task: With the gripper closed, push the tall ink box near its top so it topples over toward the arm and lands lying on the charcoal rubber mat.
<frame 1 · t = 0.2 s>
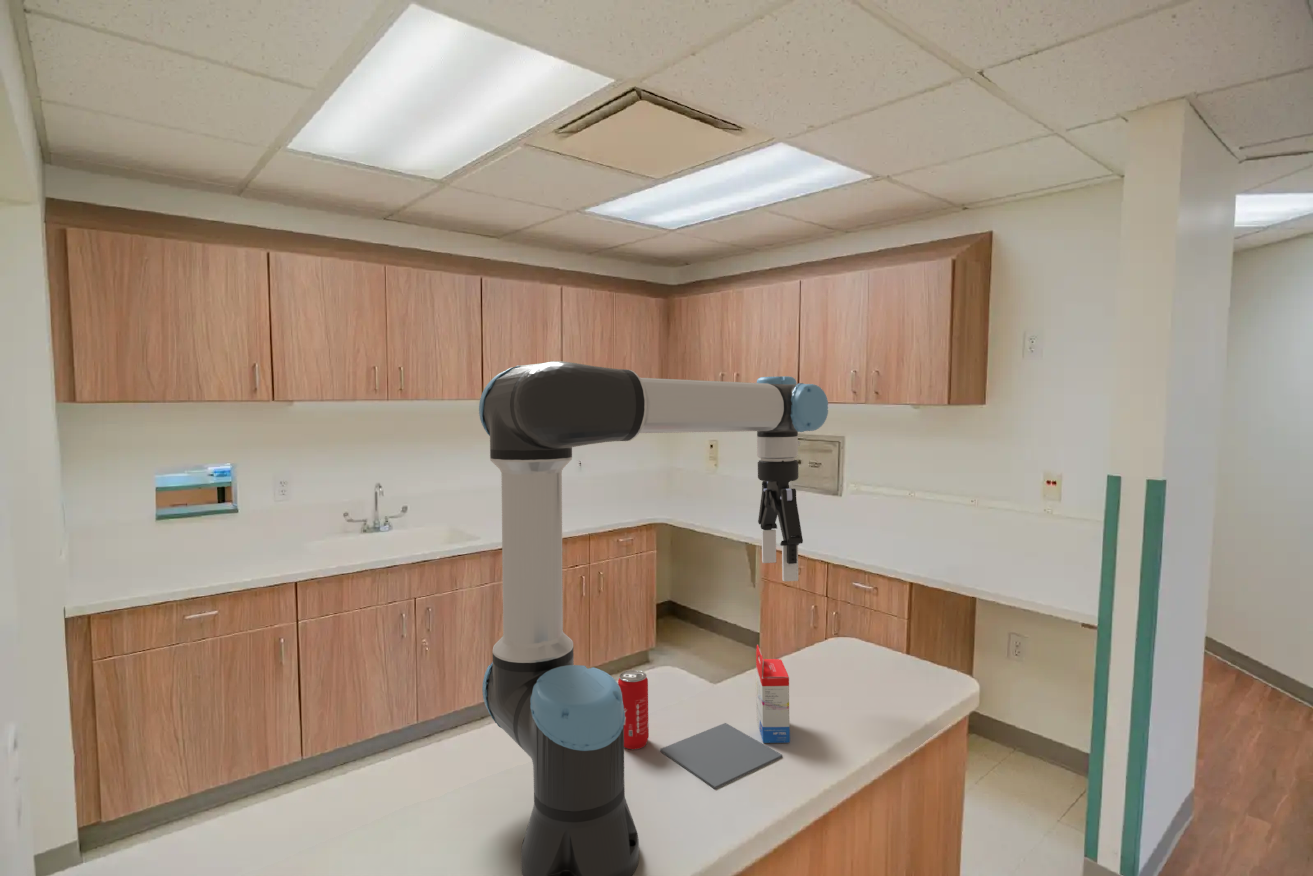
hand: (779, 571, 122), 27 cm above the counter, fingers open, 13 cm apart
mat: (720, 754, 109), on the counter
beverage can: (633, 744, 113), on the counter
ink box: (772, 733, 116), on the counter
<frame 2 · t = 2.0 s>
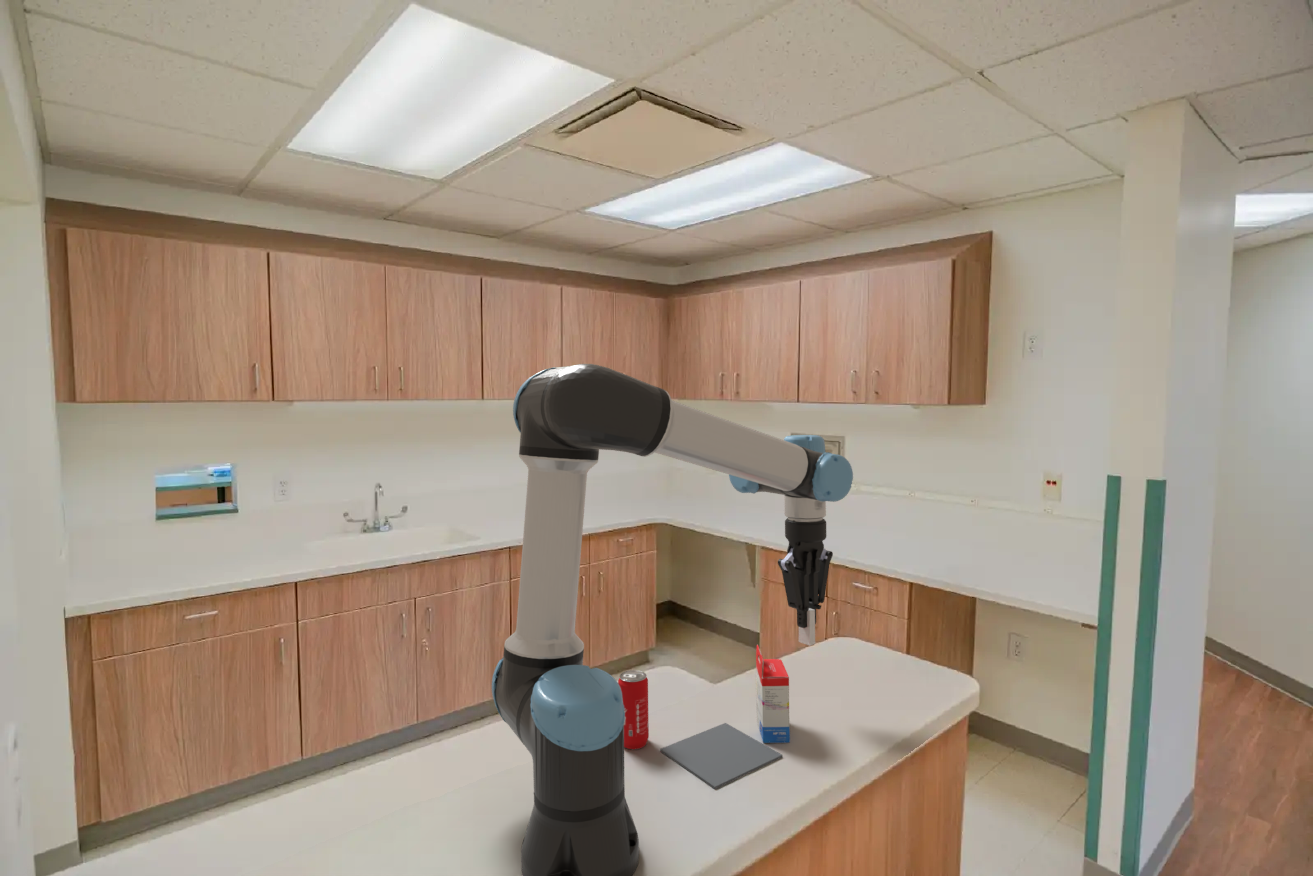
hand: (806, 642, 121), 14 cm above the counter, fingers closed
nothing on the counter moved.
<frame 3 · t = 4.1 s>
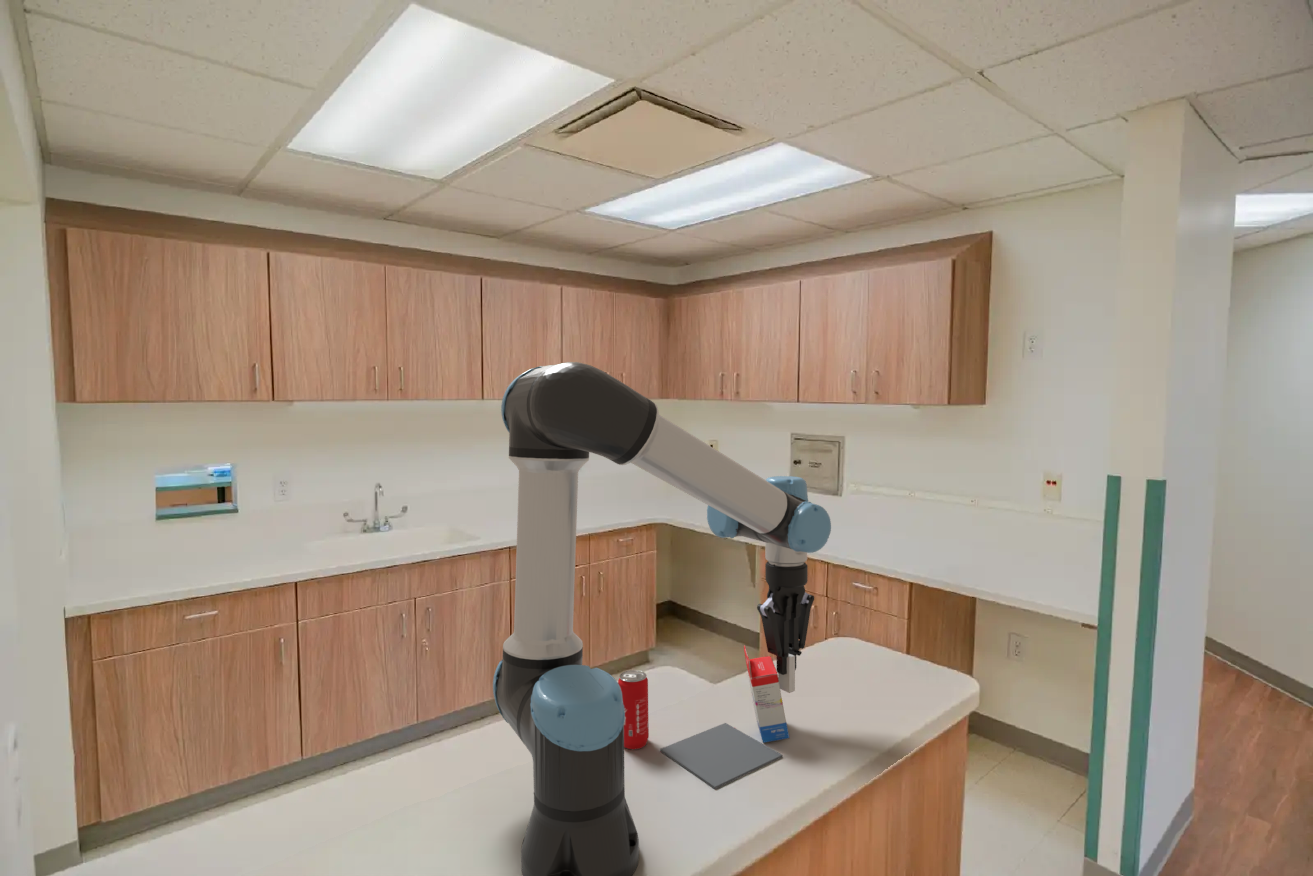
hand: (786, 689, 118), 7 cm above the counter, fingers closed
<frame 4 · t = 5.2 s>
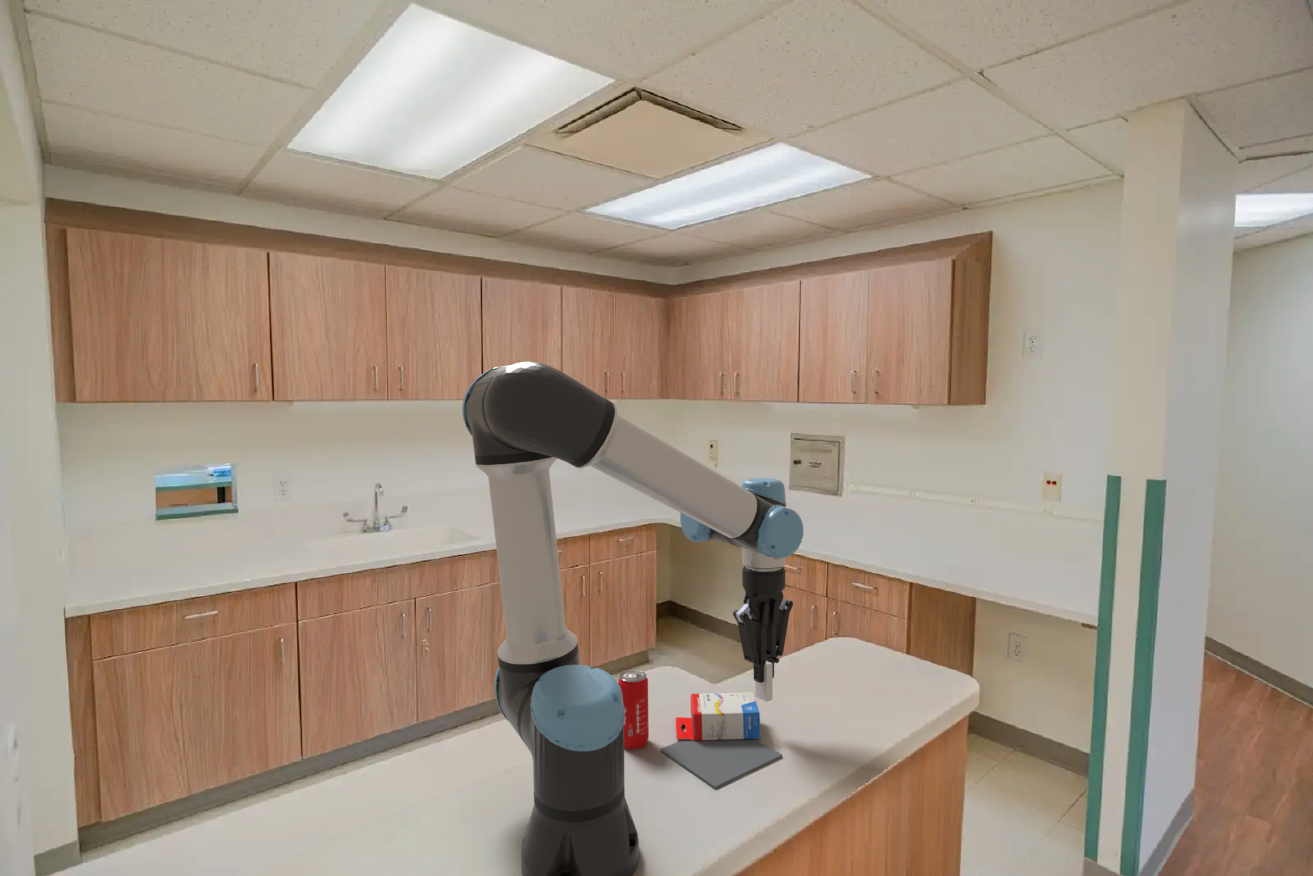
hand: (764, 697, 115), 7 cm above the counter, fingers closed
ink box: (757, 714, 117), point 3 cm above the counter, touching mat
everything else where it was.
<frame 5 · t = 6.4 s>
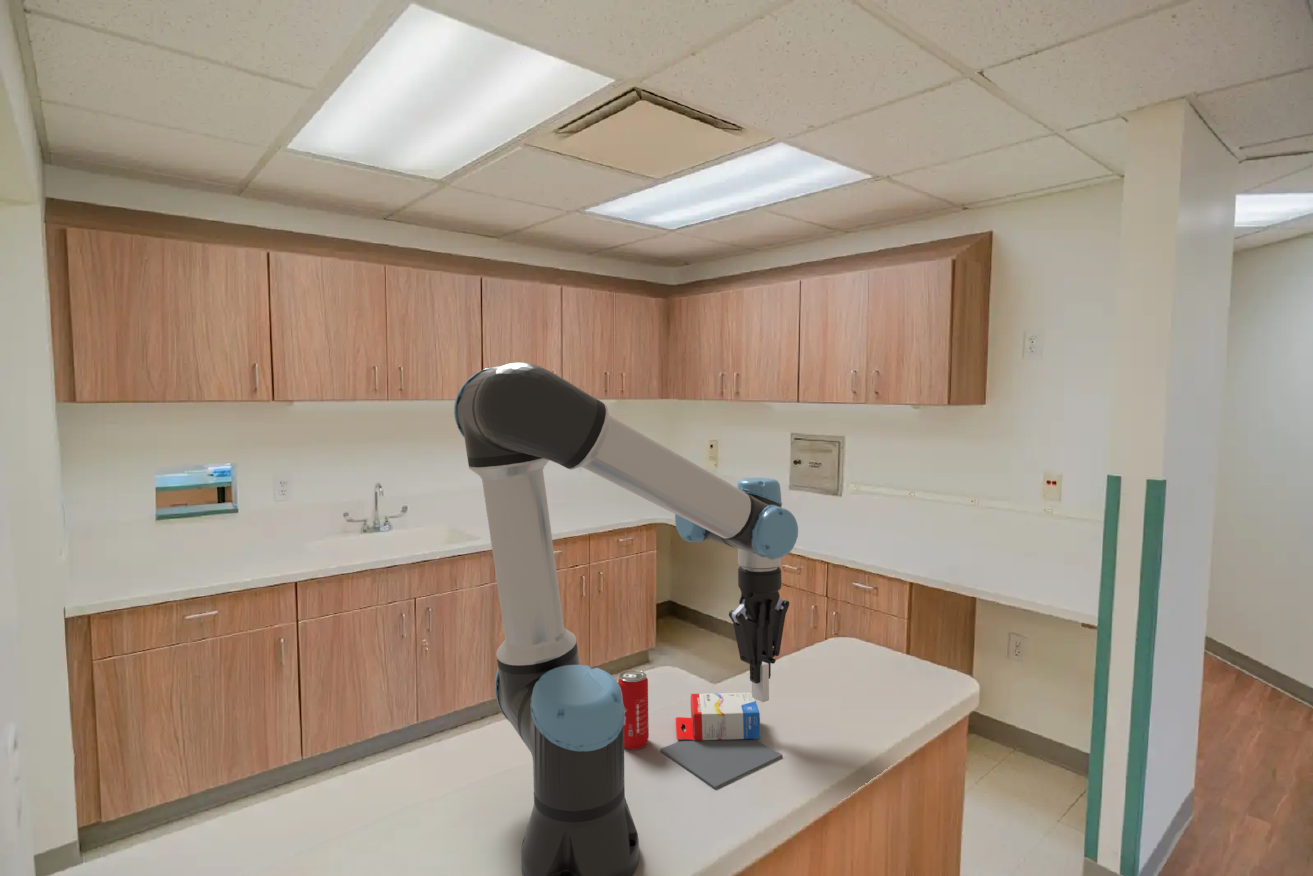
hand: (760, 698, 114), 7 cm above the counter, fingers closed
nothing on the counter moved.
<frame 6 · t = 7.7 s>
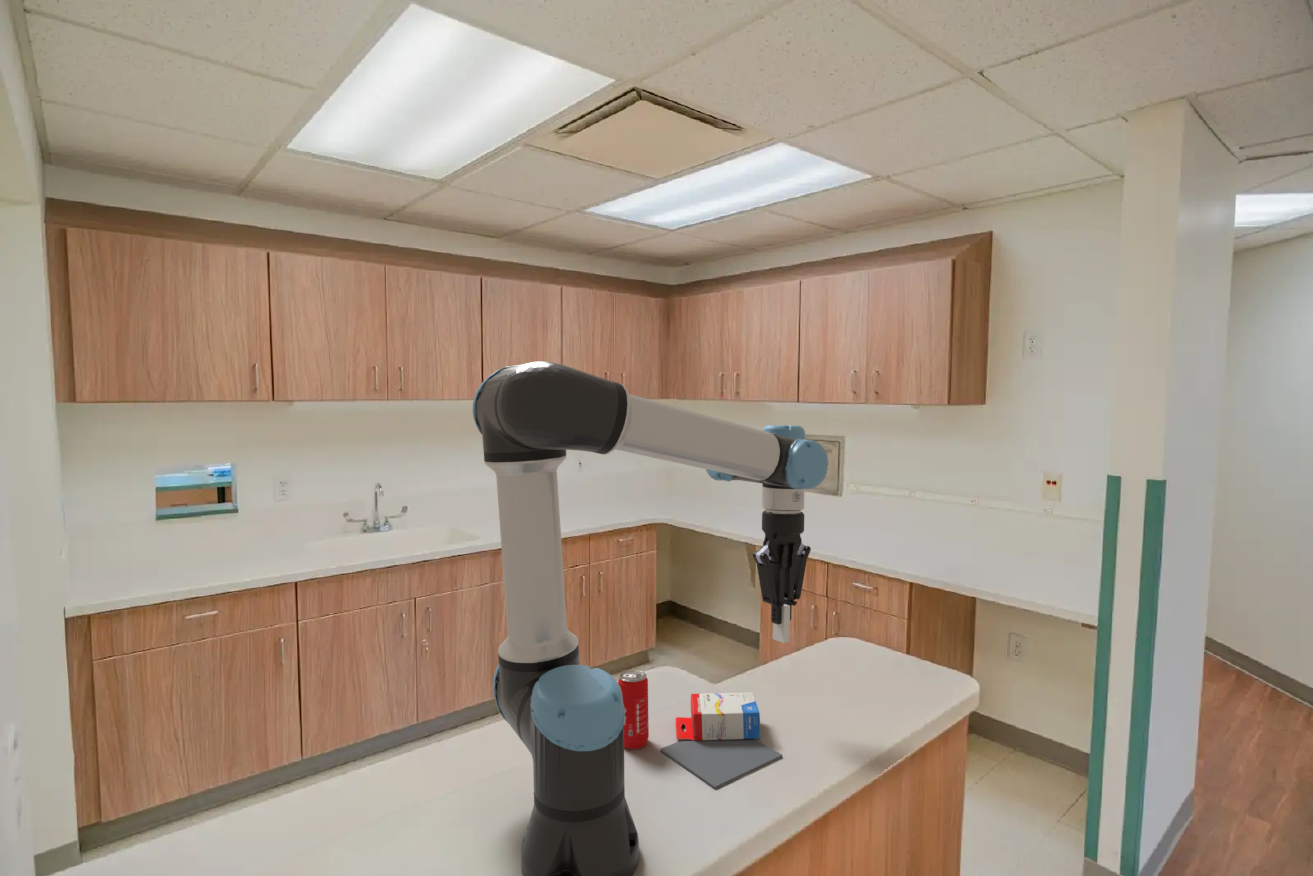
hand: (781, 640, 117), 16 cm above the counter, fingers closed
nothing on the counter moved.
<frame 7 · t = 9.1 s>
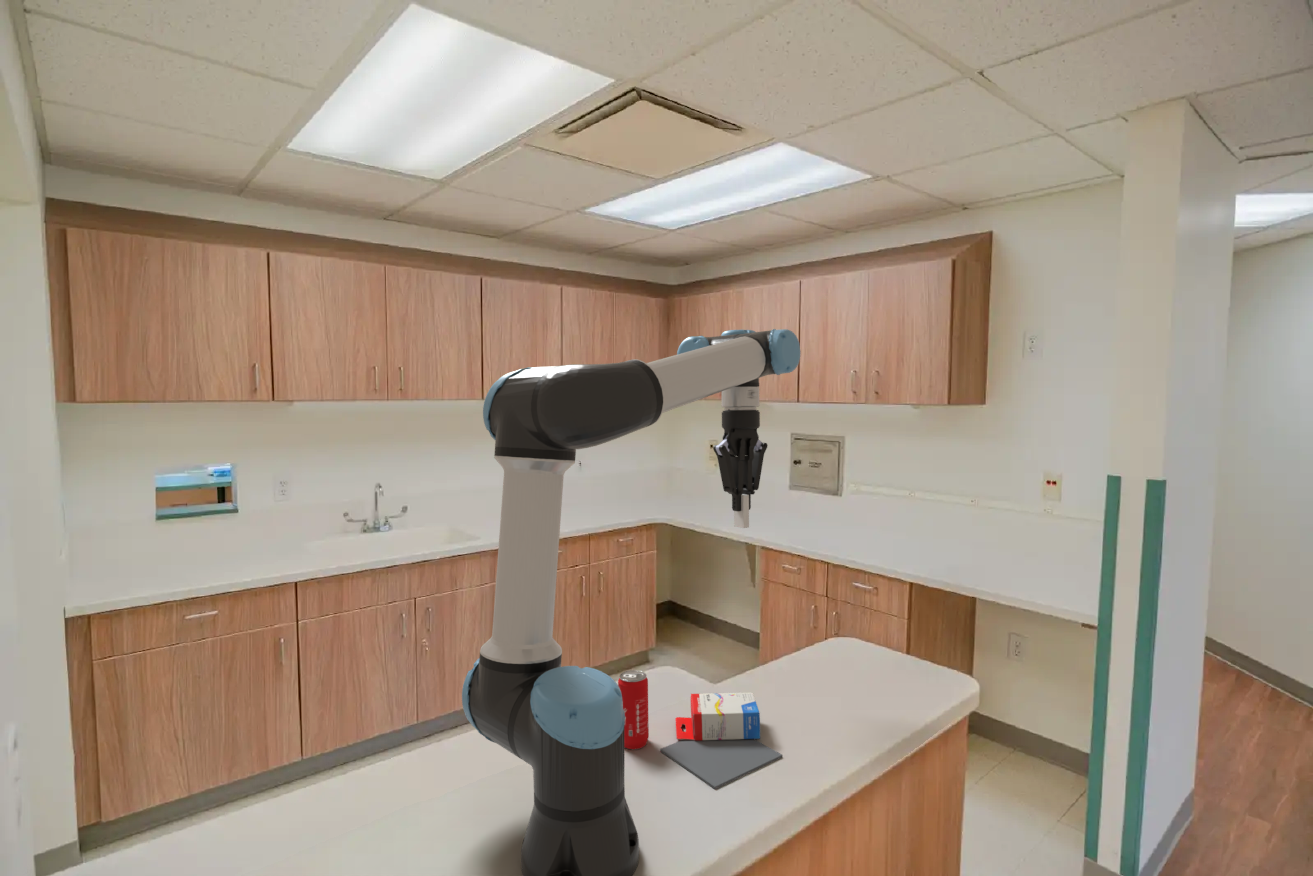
hand: (741, 526, 130), 35 cm above the counter, fingers closed
nothing on the counter moved.
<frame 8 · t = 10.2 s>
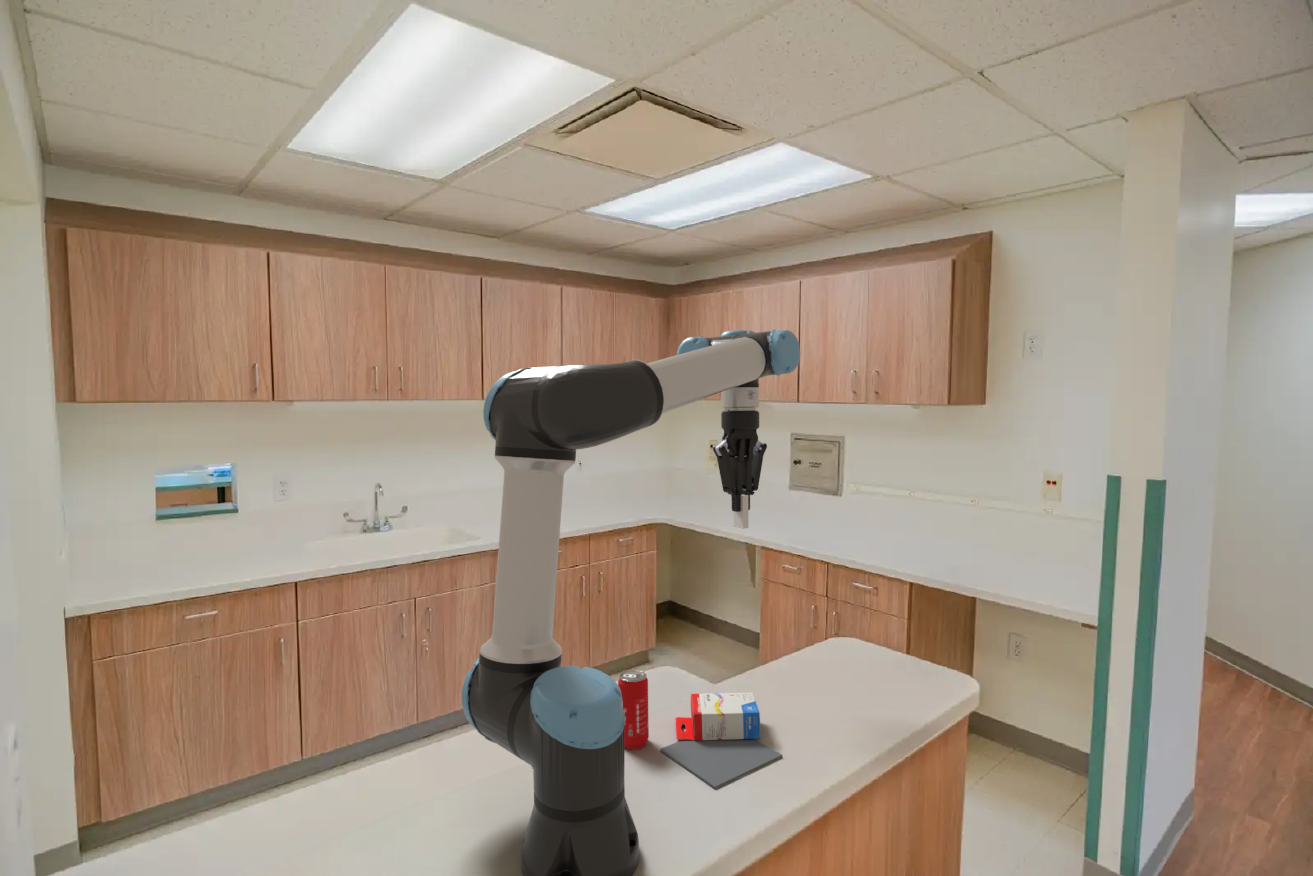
hand: (741, 527, 130), 34 cm above the counter, fingers closed
nothing on the counter moved.
at the end: ink box tilted 91°; ink box inside the target area (3.3 cm from its centre), point 2.9 cm above the counter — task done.
